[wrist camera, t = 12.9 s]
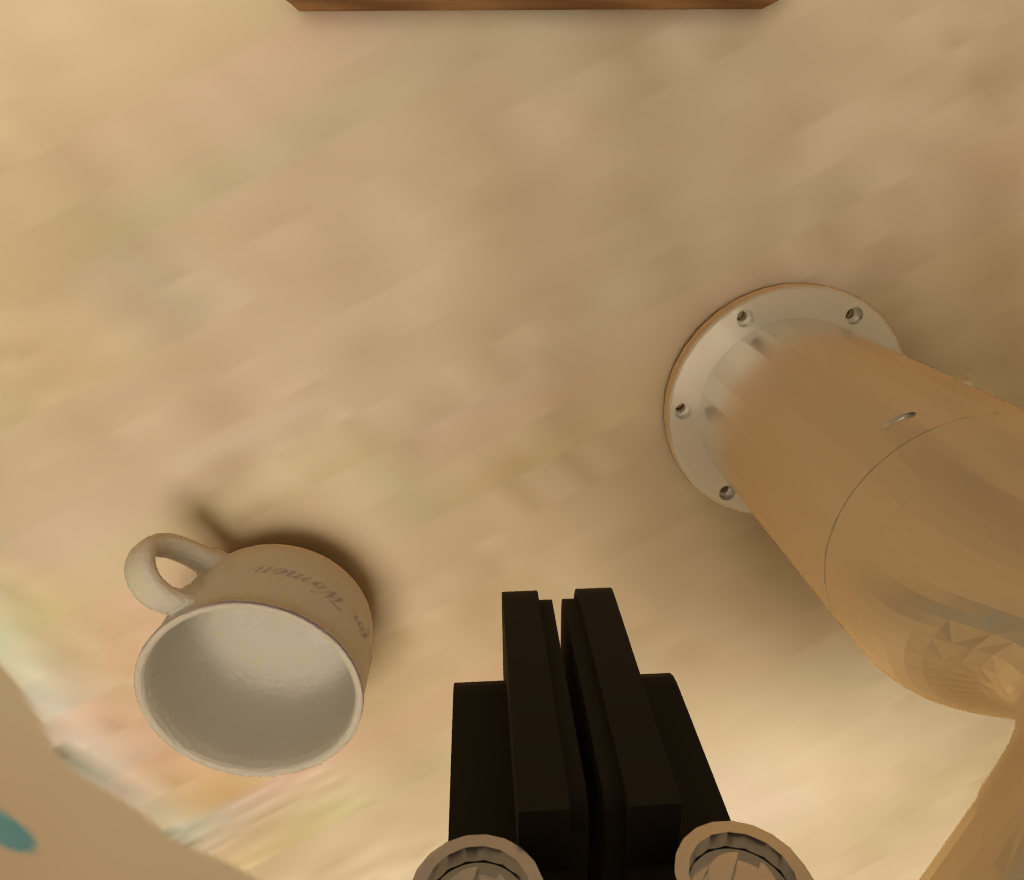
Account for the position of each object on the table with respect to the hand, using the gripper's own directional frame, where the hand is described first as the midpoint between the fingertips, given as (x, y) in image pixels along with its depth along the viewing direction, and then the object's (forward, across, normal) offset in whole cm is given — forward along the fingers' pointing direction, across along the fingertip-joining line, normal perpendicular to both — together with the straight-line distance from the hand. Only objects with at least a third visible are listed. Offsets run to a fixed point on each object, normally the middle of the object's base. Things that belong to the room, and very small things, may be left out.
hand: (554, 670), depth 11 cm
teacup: (+27, +13, +15) cm, 34 cm away
